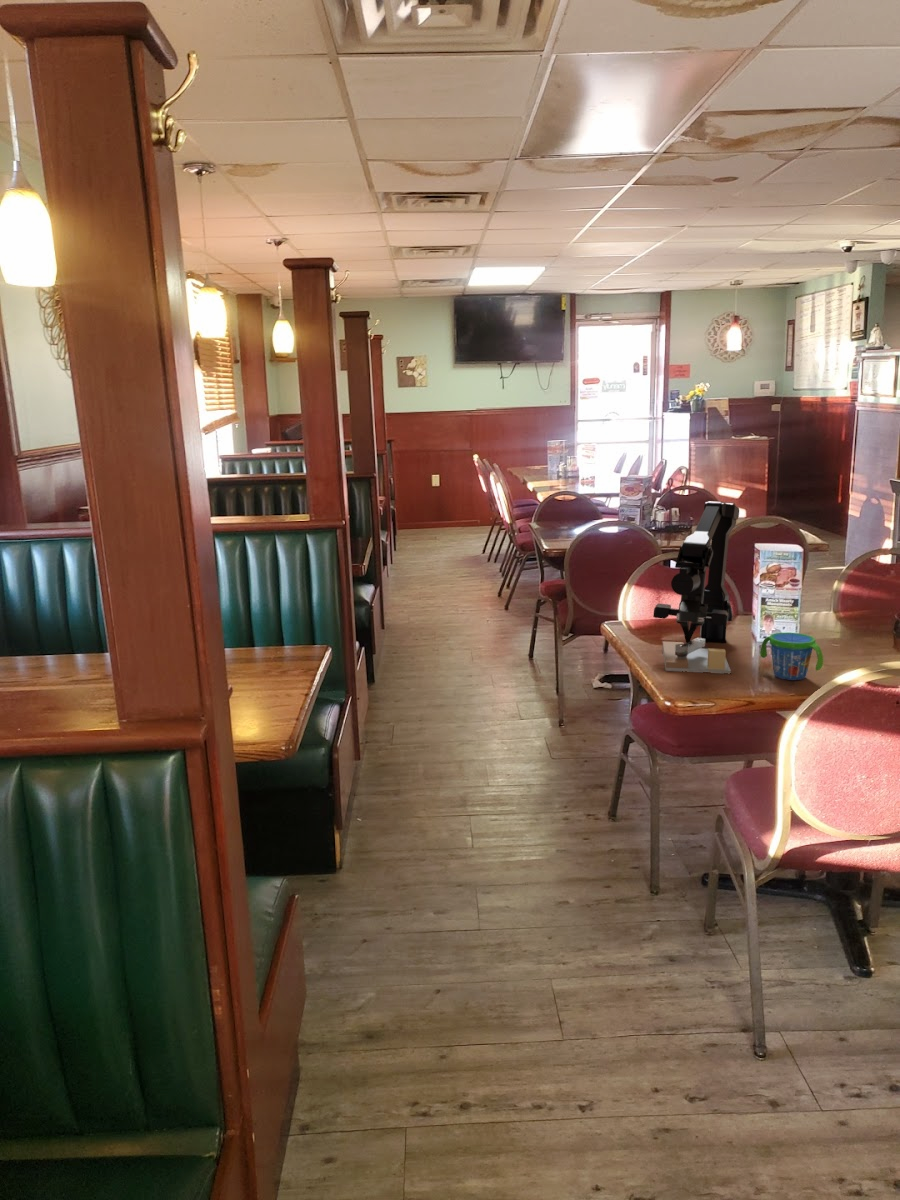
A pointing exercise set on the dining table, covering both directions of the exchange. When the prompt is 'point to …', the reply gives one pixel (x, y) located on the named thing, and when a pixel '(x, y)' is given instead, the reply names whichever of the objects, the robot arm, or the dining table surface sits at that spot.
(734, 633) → the dining table surface
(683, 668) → the door board
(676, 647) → the latch bar
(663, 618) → the robot arm
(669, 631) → the dining table surface
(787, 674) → the snack cup
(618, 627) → the dining table surface
